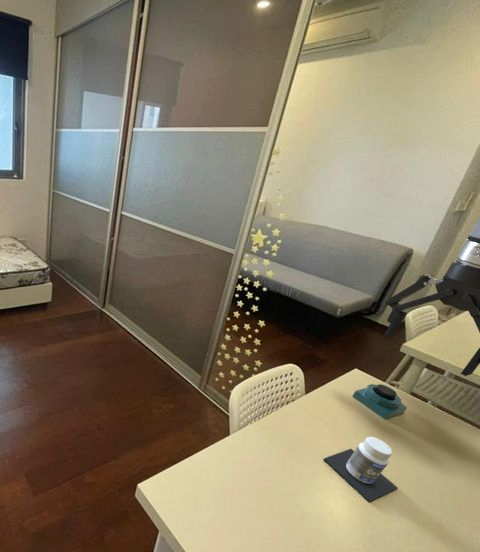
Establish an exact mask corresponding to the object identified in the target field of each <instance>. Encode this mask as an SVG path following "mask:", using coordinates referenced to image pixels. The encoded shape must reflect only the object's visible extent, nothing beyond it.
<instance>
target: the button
mask: <svg viewBox="0 0 480 552" xmlns="http://www.w3.org/2000/svg"><path fill="white" fill-rule="evenodd" d="M376 385H377V386H376V388H375V389H374V391H375V393H376V394H378V395H379V396H381V397H383V398H385V399H388V400H393V399H394V398H395V396H396V395H397V396H398V394H397V393H398V392H396V391H395V390H394V389H393V388H391V387H390V386H388V385H385V384H382V383H381V384H380V383H379V384H376Z"/></svg>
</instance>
